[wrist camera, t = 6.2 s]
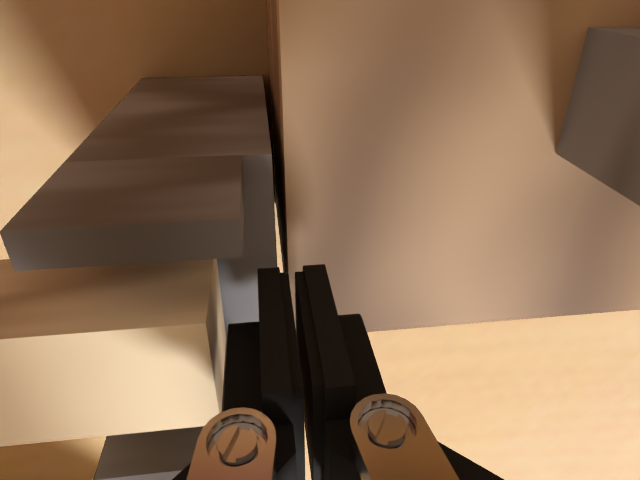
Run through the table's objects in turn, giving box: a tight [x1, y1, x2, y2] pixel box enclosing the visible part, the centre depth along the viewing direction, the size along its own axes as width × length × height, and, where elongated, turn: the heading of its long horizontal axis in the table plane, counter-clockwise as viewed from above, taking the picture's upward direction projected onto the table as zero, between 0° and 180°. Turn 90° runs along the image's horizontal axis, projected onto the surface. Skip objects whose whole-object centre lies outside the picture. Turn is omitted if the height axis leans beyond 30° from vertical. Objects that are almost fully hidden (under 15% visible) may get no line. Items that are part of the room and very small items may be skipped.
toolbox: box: [0, 0, 286, 480], centre depth 15 cm, size 25×13×12 cm, turn 90°
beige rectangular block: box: [0, 259, 226, 447], centre depth 11 cm, size 9×3×3 cm, turn 90°
